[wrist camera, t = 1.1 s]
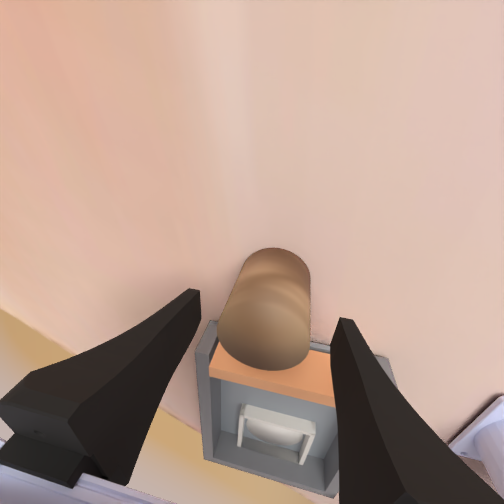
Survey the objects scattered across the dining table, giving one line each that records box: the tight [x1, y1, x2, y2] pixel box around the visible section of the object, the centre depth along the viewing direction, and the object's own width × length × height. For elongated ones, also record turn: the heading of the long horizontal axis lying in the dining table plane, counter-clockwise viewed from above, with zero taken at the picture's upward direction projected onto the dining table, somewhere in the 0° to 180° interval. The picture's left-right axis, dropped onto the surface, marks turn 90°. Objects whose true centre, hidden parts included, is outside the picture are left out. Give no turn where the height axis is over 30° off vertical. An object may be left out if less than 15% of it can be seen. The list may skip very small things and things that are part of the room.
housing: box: [195, 320, 398, 499], centre depth 21 cm, size 13×17×3 cm
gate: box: [209, 342, 336, 408], centre depth 16 cm, size 10×1×3 cm, turn 86°
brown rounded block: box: [217, 248, 310, 371], centre depth 13 cm, size 4×4×5 cm
